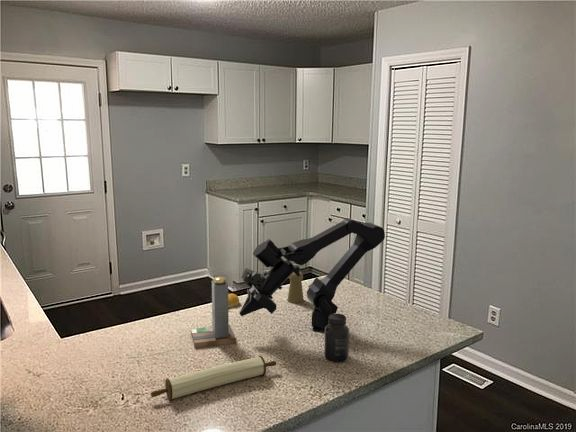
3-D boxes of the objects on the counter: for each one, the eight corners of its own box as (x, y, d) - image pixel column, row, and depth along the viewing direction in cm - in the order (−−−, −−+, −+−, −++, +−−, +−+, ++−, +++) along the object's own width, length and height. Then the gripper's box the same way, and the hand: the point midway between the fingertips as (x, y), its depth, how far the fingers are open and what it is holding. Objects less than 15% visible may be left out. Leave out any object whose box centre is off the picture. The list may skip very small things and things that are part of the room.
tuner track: (229, 328, 148) (229, 324, 148) (235, 342, 139) (235, 337, 139) (190, 333, 145) (190, 328, 144) (194, 347, 135) (194, 342, 135)
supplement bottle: (350, 353, 133) (352, 313, 131) (345, 365, 127) (347, 323, 125) (327, 349, 135) (328, 310, 133) (321, 360, 129) (322, 319, 127)
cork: (303, 303, 170) (304, 274, 168) (287, 303, 170) (287, 274, 168) (303, 297, 176) (304, 269, 174) (287, 297, 176) (287, 269, 174)
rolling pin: (271, 366, 126) (271, 349, 125) (280, 376, 121) (281, 358, 120) (148, 397, 111) (147, 378, 110) (154, 410, 106) (153, 389, 105)
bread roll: (242, 306, 168) (242, 295, 167) (218, 310, 164) (218, 299, 163) (234, 298, 175) (234, 288, 174) (211, 302, 171) (210, 292, 170)
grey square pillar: (223, 324, 146) (223, 271, 143) (228, 336, 138) (228, 280, 135) (210, 326, 145) (209, 272, 142) (215, 338, 137) (214, 281, 134)
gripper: (251, 251, 148) (216, 288, 147) (266, 268, 131) (226, 310, 129) (274, 273, 152) (241, 309, 151) (292, 293, 134) (254, 333, 133)
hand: (240, 314), depth 141 cm, fingers closed
